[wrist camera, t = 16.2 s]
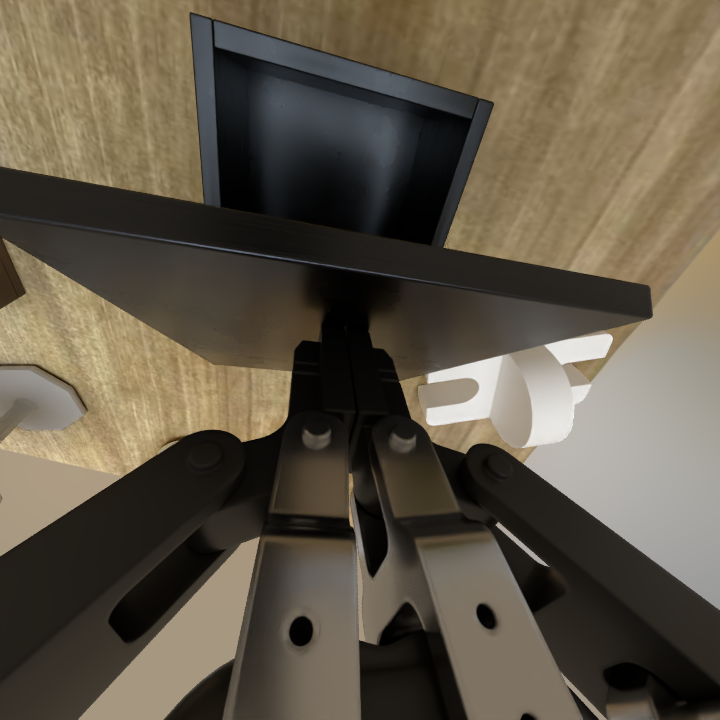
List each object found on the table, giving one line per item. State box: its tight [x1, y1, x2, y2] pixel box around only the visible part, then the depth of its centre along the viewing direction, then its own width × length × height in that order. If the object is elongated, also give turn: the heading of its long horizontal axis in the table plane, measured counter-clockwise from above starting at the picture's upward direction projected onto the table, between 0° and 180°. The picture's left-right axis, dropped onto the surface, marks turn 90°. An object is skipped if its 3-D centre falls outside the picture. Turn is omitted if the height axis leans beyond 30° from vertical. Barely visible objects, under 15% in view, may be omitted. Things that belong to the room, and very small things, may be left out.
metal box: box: [190, 12, 494, 248], centre depth 21 cm, size 16×13×9 cm
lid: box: [0, 167, 653, 381], centre depth 14 cm, size 16×13×1 cm
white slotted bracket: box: [418, 330, 613, 448], centre depth 32 cm, size 10×18×10 cm, turn 96°
